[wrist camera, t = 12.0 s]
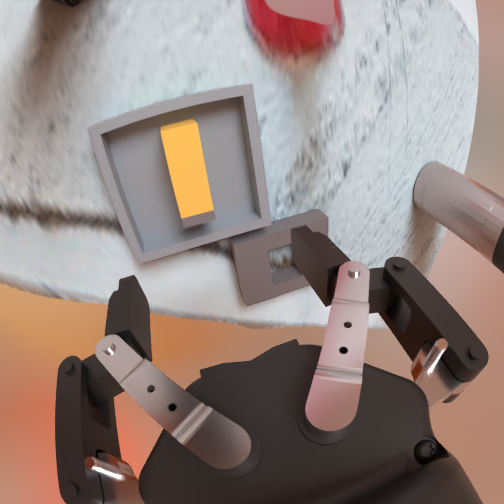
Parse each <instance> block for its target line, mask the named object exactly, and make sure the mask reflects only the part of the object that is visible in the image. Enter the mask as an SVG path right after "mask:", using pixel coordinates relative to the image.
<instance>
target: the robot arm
mask: <svg viewBox="0 0 504 504" xmlns="http://www.w3.org/2000/svg"><path fill="white" fill-rule="evenodd" d="M414 202H415V205H416V207H417V208H418V209H420V210H421V211H423V212H424V213H426V214H427V215H429V216H430V217H432V218H433V219H434V220H436V221H437V222H439V223H440V224H442V225H443V226H444V227H446V228H447V229H449V230H450V231H451V232H453V233H454V234H456V235H457V236H458V237H460V238H461V239H462V240H464V241H465V242H466V243H467V244H469V245H470V246H471V247H473V248H474V249H475V250H476V251H478V252H479V253H481V254H482V255H483V256H484V257H485V258H487V259H488V260H489V261H490V262H491V263H493V265H495V266H496V267H497V268H498V269H499V270H500V271H502V272H503V273H504V198H503V197H501V196H499V195H498V194H496V193H495V192H493V191H492V190H490V189H488V188H486V187H485V186H483V185H481V184H479V183H478V182H476V181H474V180H472V179H470V178H469V177H467V176H465V175H463V174H461V173H459V172H457V171H455V170H453V169H451V168H449V167H447V166H445V165H443V164H441V163H439V162H436V161H433V162H430V163H428V164H427V165H426V166H425V167H424V168H423V169H422V170H421V172H420V174H419V175H418V178H417V180H416V183H415V187H414ZM291 245H292V256H293V259H294V262H295V264H296V266H297V267H298V269H299V270H300V271H301V273H302V274H303V275H304V277H305V278H306V280H307V281H308V282H309V284H310V285H311V287H312V288H313V289H314V291H315V292H316V294H317V295H318V297H319V298H320V299H321V301H322V302H323V304H324V305H325V307H327V306H329V305H331V309H330V314H329V319H328V324H327V328H326V333H325V337H324V341H323V346H318V345H309V344H308V345H299V343H298V341H297V339H294V340H291V341H289V342H286V343H283V344H280V345H278V346H275V347H272V348H271V349H270V350H268V351H266V352H264V353H263V354H261V355H260V356H258V357H256V358H254V359H253V360H250V361H243V362H232V363H222V364H219V365H215V366H212V367H209V368H205V369H201V370H200V374H201V377H200V378H199V379H197V380H196V381H194V382H193V383H192V384H191V385H189V386H188V387H187V388H186V389H185V390H184V389H182V388H181V387H180V386H179V385H177V384H176V383H175V382H173V381H172V380H171V379H170V378H168V377H167V376H166V375H165V374H164V373H162V372H161V371H160V370H159V369H158V368H156V367H155V366H154V365H153V364H152V363H150V362H151V361H152V351H151V334H150V309H149V304H148V301H147V298H146V296H145V294H144V292H143V290H142V288H141V286H140V284H139V282H138V280H137V278H136V277H135V276H134V275H132V276H129V277H125V278H122V279H120V281H119V288H118V290H117V291H114V292H113V294H112V295H111V297H110V299H109V304H108V311H107V320H106V328H105V337H104V338H102V339H101V340H100V341H99V342H98V344H97V346H96V349H95V354H93V355H91V356H90V357H88V358H86V359H84V360H83V361H81V360H80V359H79V358H78V357H77V356H70V357H67V358H66V359H64V360H63V361H62V363H61V364H60V366H59V369H58V376H57V390H56V408H55V440H56V441H55V443H56V461H57V472H58V482H59V489H60V494H61V497H62V499H63V500H64V502H65V503H66V504H483V503H482V501H481V499H480V498H479V496H478V494H477V492H476V490H475V489H474V487H473V485H472V483H471V481H470V480H469V478H468V476H467V475H466V473H465V471H464V470H463V468H462V466H461V465H460V463H459V462H458V460H457V459H456V458H455V457H454V456H453V455H452V454H451V453H450V452H448V451H447V450H446V449H445V448H444V447H443V446H442V445H441V444H440V443H439V442H438V441H437V439H436V438H435V436H434V434H433V431H432V427H431V423H430V417H429V411H430V410H431V409H433V408H434V407H436V406H437V405H439V404H440V403H441V402H443V403H449V402H452V401H453V400H454V399H455V398H456V397H457V396H458V395H459V394H460V393H461V392H462V391H463V390H464V389H465V388H466V387H467V386H468V385H469V384H470V383H471V382H472V381H473V380H474V379H475V378H476V376H477V375H478V374H479V373H480V372H481V371H482V370H483V368H484V367H485V366H486V365H487V362H488V352H487V349H486V347H485V346H484V345H483V343H482V342H481V341H480V340H479V338H478V337H477V336H476V334H475V333H474V332H473V331H472V330H471V328H470V327H469V326H468V325H467V323H466V322H465V321H464V320H463V319H462V318H461V316H459V314H458V313H457V312H456V311H455V309H453V307H452V306H451V305H450V304H449V303H448V302H447V301H446V299H445V298H444V297H443V296H442V295H441V294H440V293H439V292H438V291H437V290H436V289H435V288H434V286H433V285H432V284H431V283H430V282H429V281H428V280H427V279H426V278H425V277H424V276H423V275H422V274H421V273H420V272H419V271H418V270H417V269H416V268H415V267H414V266H413V265H412V264H411V263H410V262H409V261H408V260H406V259H404V258H402V257H391V258H389V259H387V260H386V262H385V266H384V267H381V268H372V269H369V268H368V267H367V266H366V265H365V264H363V263H361V262H358V261H351V260H350V259H349V258H348V257H347V256H346V255H345V254H344V253H343V252H342V251H341V250H340V249H339V248H338V247H336V245H335V244H334V243H333V242H332V241H331V240H330V239H329V238H328V237H327V236H326V235H324V234H322V233H320V232H318V231H316V232H312V231H311V229H310V228H309V227H308V226H307V225H302V226H299V227H295V228H292V229H291ZM377 312H378V313H379V315H380V316H381V317H382V319H383V320H384V321H385V323H386V324H387V326H388V327H389V328H390V329H391V331H392V333H393V334H394V335H395V337H396V338H397V340H398V341H399V343H400V344H401V345H402V347H403V348H404V350H405V351H406V353H407V354H408V356H409V357H410V359H411V360H412V362H413V364H412V365H411V374H412V376H413V379H414V382H413V381H411V380H409V379H407V378H404V377H401V376H398V375H395V374H392V373H390V372H387V371H384V370H382V369H379V368H377V367H374V366H371V365H369V364H366V363H364V356H365V348H366V339H367V329H368V318H369V314H370V313H377ZM124 391H126V392H127V393H128V394H129V395H130V396H131V397H132V398H133V399H134V400H135V401H136V402H137V403H138V404H139V405H140V406H141V407H142V408H143V409H144V410H145V411H146V412H147V413H148V414H149V415H150V416H151V417H152V418H153V419H154V420H156V422H158V423H159V424H160V425H161V426H162V427H163V428H164V429H163V431H162V433H161V434H160V436H159V438H158V440H157V442H156V444H155V446H154V448H153V450H152V451H151V453H150V455H149V457H148V459H147V461H146V463H145V465H144V467H143V469H142V470H141V473H140V476H139V480H138V479H137V478H136V476H135V475H134V472H133V470H132V468H131V466H130V465H129V464H128V463H127V462H125V461H123V460H122V459H121V453H120V447H119V441H118V434H117V427H116V417H115V408H114V397H115V396H116V395H118V394H120V393H122V392H124Z"/></svg>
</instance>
